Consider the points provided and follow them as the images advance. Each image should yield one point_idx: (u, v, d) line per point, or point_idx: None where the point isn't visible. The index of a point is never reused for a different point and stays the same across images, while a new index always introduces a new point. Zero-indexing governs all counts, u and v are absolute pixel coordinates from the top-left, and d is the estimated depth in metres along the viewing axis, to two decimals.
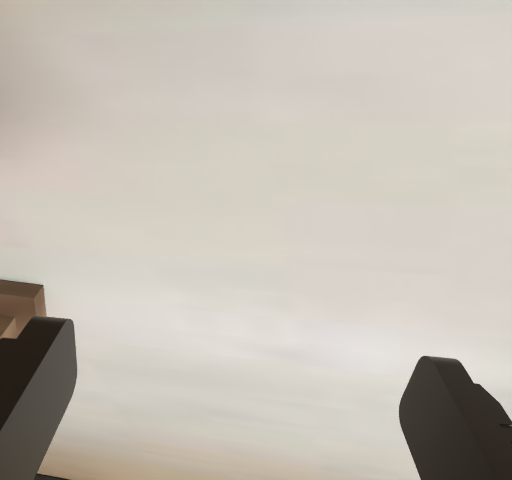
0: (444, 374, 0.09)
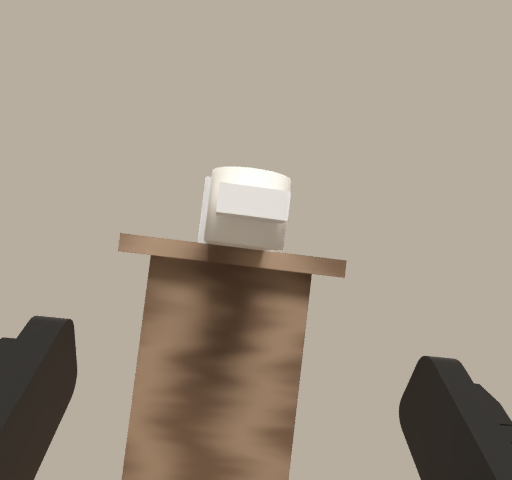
0: (444, 374, 0.09)
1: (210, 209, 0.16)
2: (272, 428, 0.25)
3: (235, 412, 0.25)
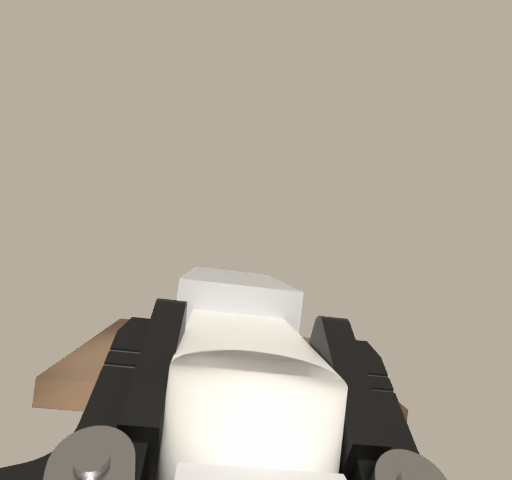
0: (329, 330, 0.09)
1: (161, 473, 0.07)
2: None
3: None
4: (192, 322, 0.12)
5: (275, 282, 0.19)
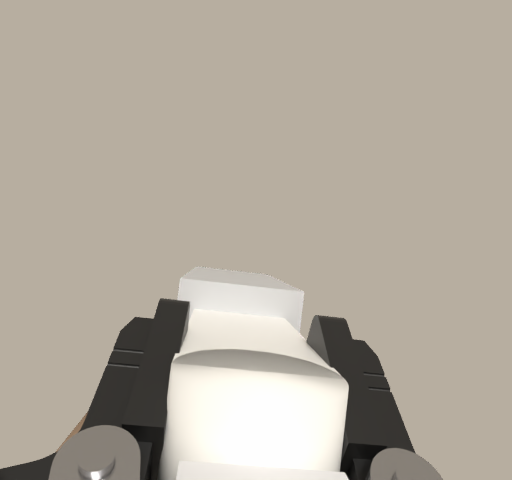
0: (326, 329, 0.09)
1: (163, 472, 0.07)
2: None
3: None
4: (193, 322, 0.12)
5: (276, 282, 0.19)
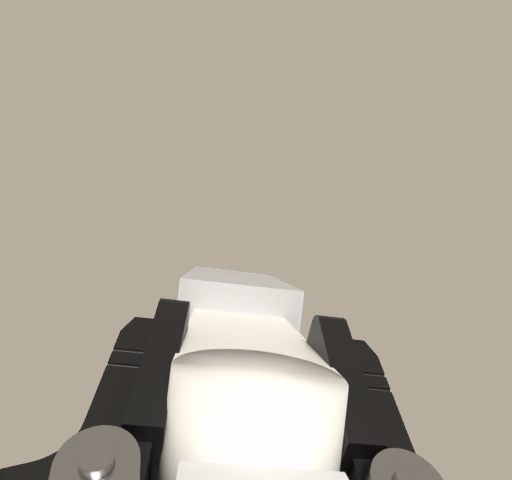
0: (326, 329, 0.09)
1: (163, 472, 0.07)
2: None
3: None
4: (193, 321, 0.12)
5: (276, 282, 0.19)
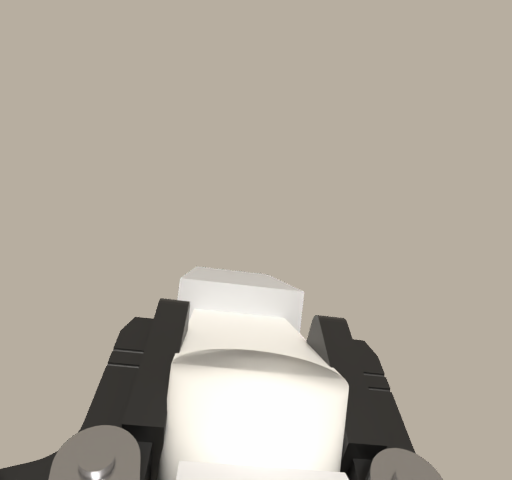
0: (325, 329, 0.09)
1: (163, 472, 0.07)
2: None
3: None
4: (193, 322, 0.12)
5: (276, 282, 0.19)
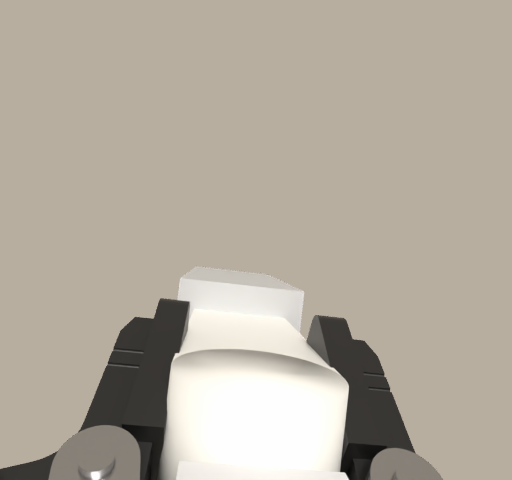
0: (325, 329, 0.09)
1: (163, 472, 0.07)
2: None
3: None
4: (193, 322, 0.12)
5: (276, 282, 0.19)
